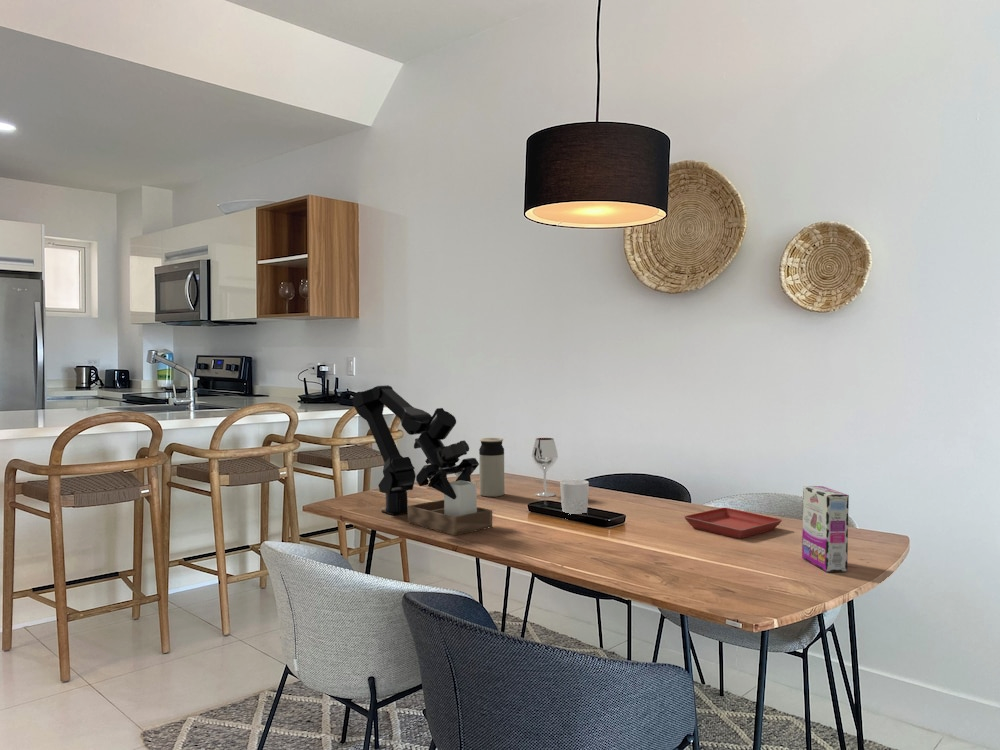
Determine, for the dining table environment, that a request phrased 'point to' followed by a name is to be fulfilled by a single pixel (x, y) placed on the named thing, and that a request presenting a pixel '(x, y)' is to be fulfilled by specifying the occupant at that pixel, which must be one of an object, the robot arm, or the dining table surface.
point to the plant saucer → (732, 522)
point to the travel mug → (491, 467)
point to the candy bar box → (825, 528)
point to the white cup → (574, 496)
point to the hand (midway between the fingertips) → (463, 496)
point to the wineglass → (544, 459)
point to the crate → (448, 518)
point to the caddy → (461, 499)
